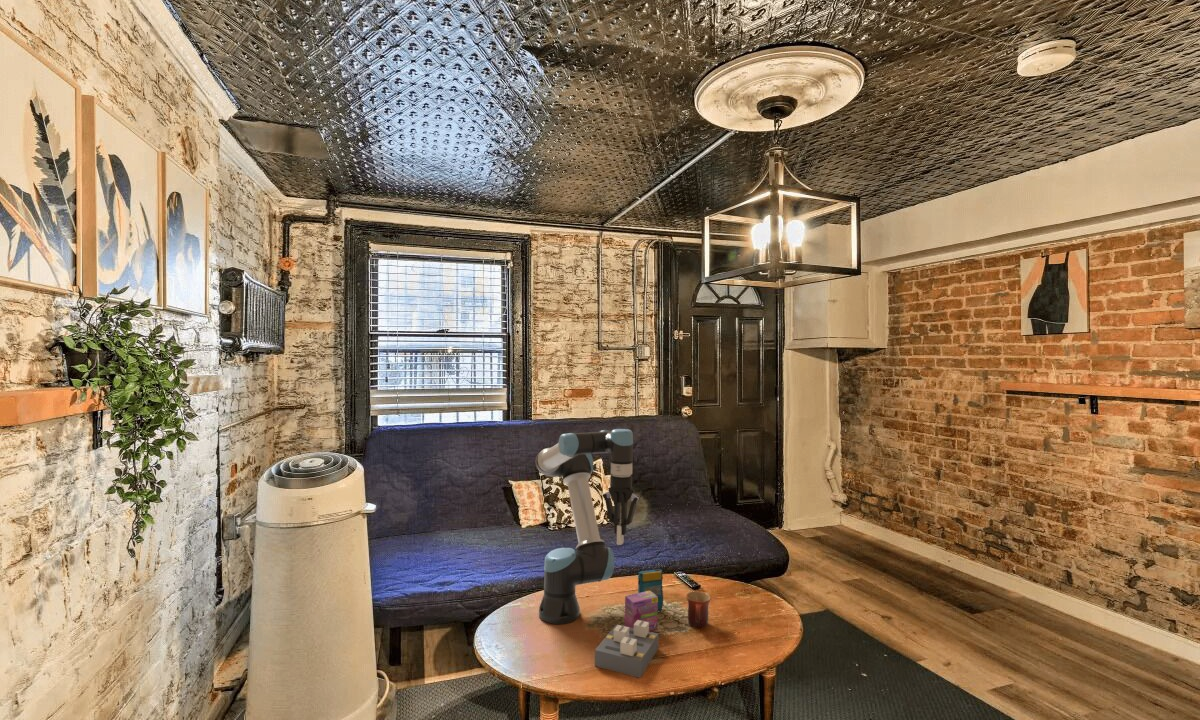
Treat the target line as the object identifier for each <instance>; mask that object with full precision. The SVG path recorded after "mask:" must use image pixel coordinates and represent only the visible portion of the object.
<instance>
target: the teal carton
mask: <svg viewBox="0 0 1200 720" xmlns="http://www.w3.org/2000/svg"><path fill="white" fill-rule="evenodd" d="M663 580H664V572H663V570H662V569H658V568H657V569H651V570H650V569H649V570H643V571H639V572H638V574H637V581H638V582H637V586H638V587H637V588H638V589H637V591H638V592H637V593H641V592H645V591H649V590H650V591H651V592H652V593H654V594H655V595H656V596H658V605H657V613H659V612H658V611H661V612H662V611H663V608H664V607H663V605H664V591H663V587H664V586H663Z"/></svg>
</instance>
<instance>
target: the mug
mask: <svg viewBox="0 0 1200 720" xmlns="http://www.w3.org/2000/svg"><path fill="white" fill-rule="evenodd" d="M685 596H686V602H687V622H688V625H689V626H690V627H692V628H693V627H694V629H699V630H700V629H701V630H702V629H705V628H706V627H707V626H708V624H709V621H710V619H709V613H710V612H709V608H710V607H709V606H710V602H711V598H712V597H711V596H710V594H708V593H706V592H704V591H697V590H695V591H689V592H688V593H686V595H685Z"/></svg>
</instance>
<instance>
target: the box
mask: <svg viewBox="0 0 1200 720" xmlns="http://www.w3.org/2000/svg"><path fill="white" fill-rule="evenodd" d="M624 597H625V598H624V626H627V627H631V628H634V624H635V622H636V621H637V620H641V621H642V620H643V621H645V622H649V632H651V631H654V630H657V629H658V612H657V605H658V596H656V595H655V594H654V593H652V592H651V591H650V590H649V591H645V592H641V593H638V592H637V593H633V594H628V595H625V596H624Z"/></svg>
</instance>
